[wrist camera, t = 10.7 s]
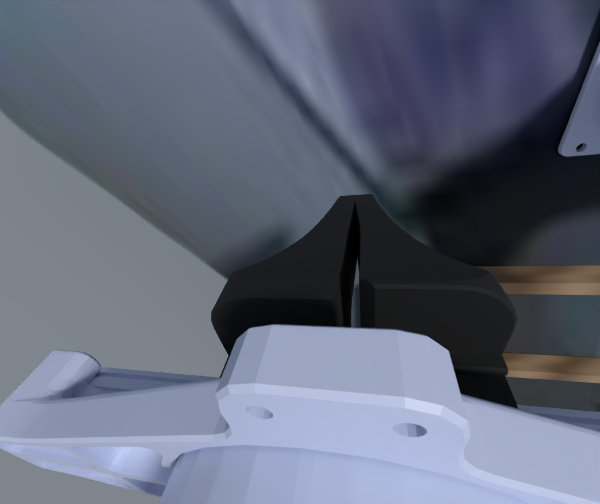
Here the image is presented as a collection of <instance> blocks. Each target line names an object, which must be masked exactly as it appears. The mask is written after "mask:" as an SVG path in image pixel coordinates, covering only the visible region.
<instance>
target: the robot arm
mask: <svg viewBox="0 0 600 504" xmlns="http://www.w3.org/2000/svg"><path fill="white" fill-rule="evenodd" d="M582 143H583V145H582V147H581V148H579V149H578V150H576V147H577V146H578V145H580V144H582ZM558 152H559V154H561V155H563V156H566V157H569V156H581V155H593V154H600V42H599V45H598V47H597V50H596V53H595V55H594V58H593V60H592V63H591V65H590V68H589V70H588V73H587V76H586V78H585V81H584V83H583V86H582V88H581V91H580V93H579V96H578V99H577V101H576V104H575V106H574V109H573V111H572V114H571V116H570V119H569V122H568V124H567V127H566V129H565V132H564V134H563V137H562V139H561V142H560V145H559V147H558ZM357 258H358V266H359V286H360V313H361V328H356V327H351V306H352V295H353V287H354V280H355V272H356V264H357ZM211 321H212V324H213V327H214V329H215V331H216V333H217V335H218V337H219V339H220V340H221V342H222V344H223V346H224V348H225V350H226V351H227V353H228V355H229V356H228V358H227V361H226V363H225V366H224V368H223V371H222V373H221V376H220V378H216V377H206V376H194V375H183V374H173V373H162V372H150V371H138V370H128V369H117V368H106V367H101V365H100V363H99V362H98V361H97V360H96V359H94V358H93V357H92V356H91V355H89V354H87V353H83V352H78V351H65V350H54V351H52V352H51V354H50V355H48V357H47V358H46V359H45V360H44V361H43V362H42V363H41V364H40V365H39V366H38V367H37V368H36V369H35V370H34V371H33V372H32V373H31V374H30V375H29V376H28V377H27V379H25V381H24V382H23V383H22V384H21V385H20V386H19V387H18V388H17V389H16V390H15V391H14V392H13V393H12V394H11V395H10V396H9V397H8V398H7V399H6V400H5V401H4V402H3V404H1V405H0V449H2V450H5V451H7V452H9V453H11V454H13V455H16V456H17V457H20V458H22V459H24V460H26V461H28V462H31V463H32V464H35V465H37V466H39V467H41V468H44V469H49V470H54V471H58V472H63V473H68V474H72V475H76V476H80V477H84V478H88V479H92V480H96V481H100V482H104V483H108V484H111V485H115V486H119V487H123V488H126V489H130V490H134V491H137V492H141V493H145V494H149V495H153V496H156V497H160V498H161V499H160V501H159V504H600V412H591V411H580V410H569V409H558V408H547V407H536V406H525V405H517V404H516V401H515V399H514V397H513V394H512V392H511V390H510V387H509V385H508V382H507V380H506V378H505V376H507V374H508V367H507V365H506V363H505V361H504V358H503V356H502V355H503V352H504V350H505V348H506V346H507V344H508V342H509V340H510V338H511V336H512V334H513V332H514V330H515V326H516V322H517V316H516V312H515V309H514V307H513V305H512V303H511V301H510V300H509V298H508V296H507V294H506V293H505V291H504V290H503V288H502V287H501V285H500V284H499V283H498V281H497V280H496V279H495V277H494V276H493V275H492V273H491V272H490V271H488V270H485V269H482V268H479V267H476V266H473V265H470V264H466V263H463V262H460V261H458V260H455V259H453V258H451V257H448V256H446V255H444V254H441V253H439V252H437V251H435V250H433V249H431V248H430V247H428V246H426V245H424V244H423V243H421V242H419V241H418V240H416V239H414V238H413V237H411V236H410V235H409V234H407V233H406V232H405V231H403V230H402V229H401V228H400V227H399V226H398V225H397V224H396V223H395V222H394V221H393V220H392V219H391V218H390V217H389V216H388V215H387V214H386V213H385V212H384V210H383V209H382V208H381V206H380V205H379V204H378V202H377V201H376V199H375V197H374V196H373V195H372V194H365V195H349V196H340V197H339V198H338V199H337V201H336V202H335V204H334V205H333V206H332V208H331V209H330V210H329V211H328V213H327V214H326V215H325V216H324V217H323V219H322V220H321V221H320V222H319V223H318V224H317V225H316V226H315V227H314V228H313V229H312V230H311V231H310V232H309V233H307V234H306V235H305V236H304V237H302V238H301V239H300V240H298V241H297V242H296V243H294V244H293V245H291V246H289V247H288V248H286V249H285V250H283V251H281V252H280V253H278V254H276V255H274V256H272V257H270V258H268V259H266V260H264V261H262V262H259V263H257V264H255V265H252V266H249V267H247V268H244V269H241V270H239V271H236V272H233V273H232V275H231V276H230V278H229V280H228V281H227V283H226V285H225V287H224V289H223V291H222V293H221V295H220V297H219V298H218V300H217V302H216V304H215V306H214V308H213V310H212V312H211Z"/></svg>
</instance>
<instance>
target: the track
mask: <svg viewBox="0 0 600 504" xmlns="http://www.w3.org/2000/svg"><path fill="white" fill-rule="evenodd" d="M476 267H479V268H482V269H485V270H488V271H490V272H491V273H492V275H493V276H494V277H495V279H496V280H497V281H498V283H499V284H500V285H501V287H502V288H503V290H504V291H505V293H506V294H561V295H600V266H476ZM502 356H503V358H504V361H505V363H506V365H507V367H508V374H507V377H521V378H535V379H549V380H563V381H577V382H591V383H600V358H591V357H573V356H554V355H536V354H518V353H503V355H502Z"/></svg>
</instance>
